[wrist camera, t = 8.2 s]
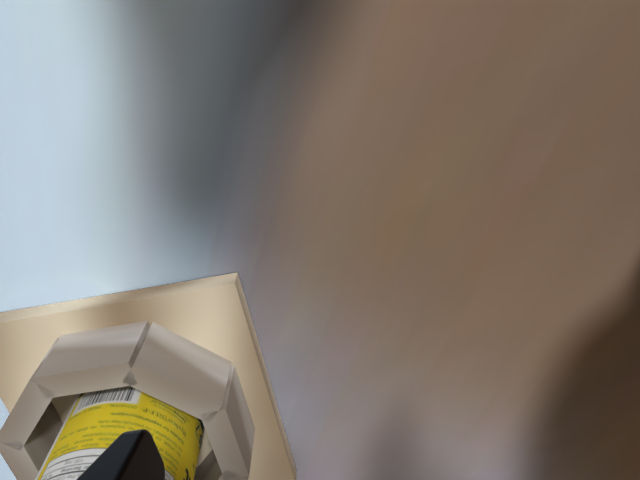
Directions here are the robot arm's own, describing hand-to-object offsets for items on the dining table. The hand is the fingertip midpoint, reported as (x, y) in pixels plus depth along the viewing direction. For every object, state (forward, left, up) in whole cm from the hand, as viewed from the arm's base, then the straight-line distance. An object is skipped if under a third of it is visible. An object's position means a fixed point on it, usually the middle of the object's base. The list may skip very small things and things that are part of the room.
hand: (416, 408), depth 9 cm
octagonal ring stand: (+11, +9, -12) cm, 19 cm away
